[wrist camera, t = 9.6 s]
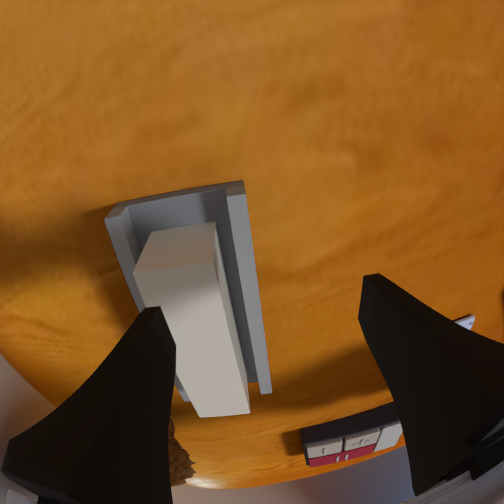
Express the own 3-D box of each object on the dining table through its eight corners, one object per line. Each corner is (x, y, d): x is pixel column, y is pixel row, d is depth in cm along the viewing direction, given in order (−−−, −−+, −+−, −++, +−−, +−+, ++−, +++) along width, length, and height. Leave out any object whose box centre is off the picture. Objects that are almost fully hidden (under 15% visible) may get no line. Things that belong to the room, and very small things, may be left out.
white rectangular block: (246, 369, 24) (250, 413, 21) (201, 374, 24) (200, 417, 21) (215, 221, 17) (213, 261, 14) (151, 231, 17) (132, 273, 14)
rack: (268, 371, 26) (272, 393, 24) (185, 380, 26) (184, 401, 24) (243, 180, 17) (245, 194, 15) (117, 203, 17) (103, 219, 15)
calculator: (302, 449, 31) (413, 420, 30) (299, 422, 35) (404, 395, 34) (307, 470, 37) (397, 447, 35) (304, 447, 40) (391, 426, 39)
